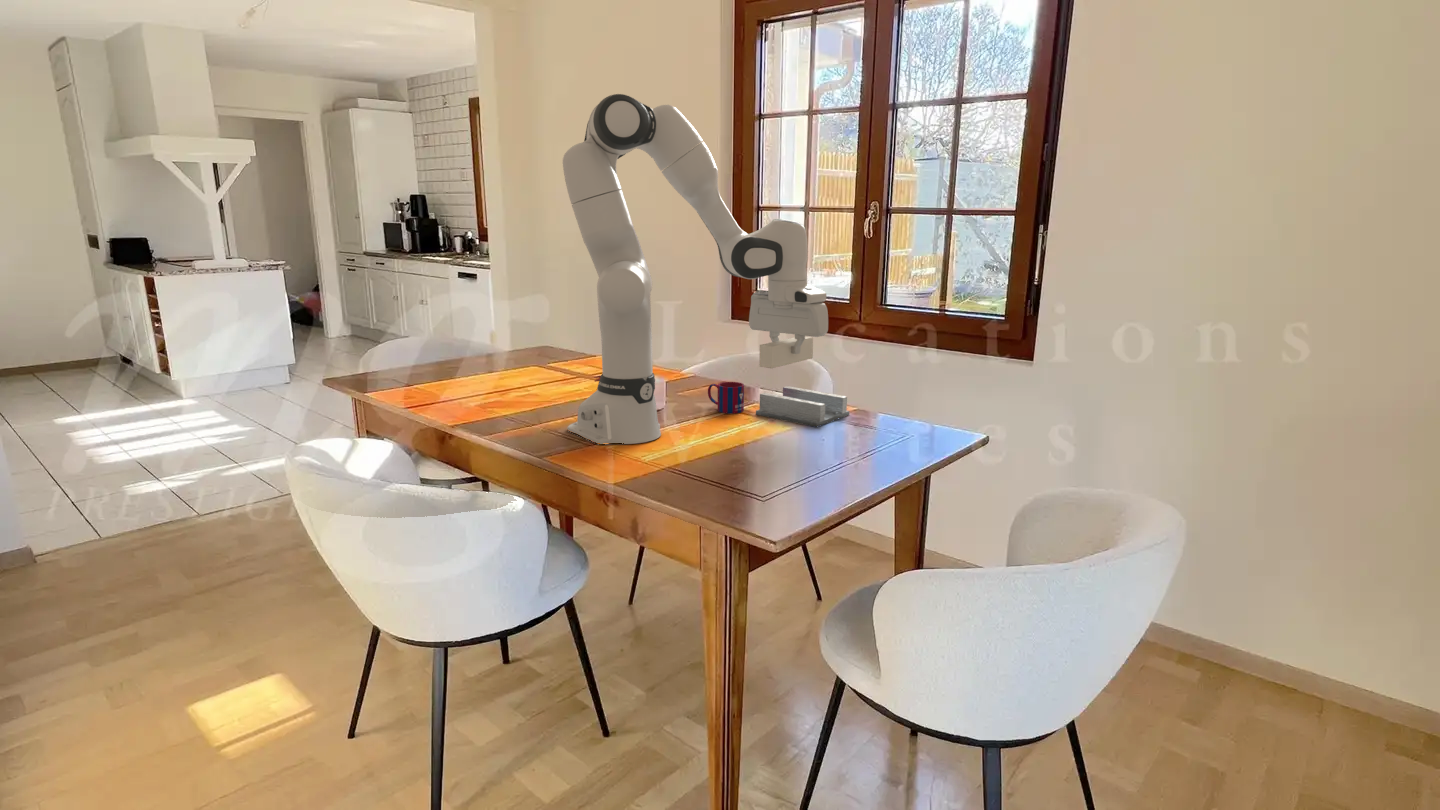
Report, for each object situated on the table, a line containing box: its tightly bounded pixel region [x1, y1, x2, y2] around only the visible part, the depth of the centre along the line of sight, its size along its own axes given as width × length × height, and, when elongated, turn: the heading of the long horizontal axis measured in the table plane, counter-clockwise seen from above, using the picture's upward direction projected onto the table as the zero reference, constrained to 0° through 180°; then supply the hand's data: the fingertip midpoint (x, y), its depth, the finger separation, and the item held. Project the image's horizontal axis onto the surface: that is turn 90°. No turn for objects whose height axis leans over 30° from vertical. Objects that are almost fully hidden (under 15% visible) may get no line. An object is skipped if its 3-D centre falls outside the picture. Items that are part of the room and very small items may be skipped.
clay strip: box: [759, 336, 814, 370], centre depth 180 cm, size 4×16×5 cm, turn 139°
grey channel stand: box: [755, 385, 851, 428], centre depth 195 cm, size 18×15×5 cm
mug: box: [707, 381, 745, 415], centre depth 199 cm, size 7×10×7 cm
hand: (786, 352), depth 181 cm, fingers closed on clay strip, 3 cm apart
